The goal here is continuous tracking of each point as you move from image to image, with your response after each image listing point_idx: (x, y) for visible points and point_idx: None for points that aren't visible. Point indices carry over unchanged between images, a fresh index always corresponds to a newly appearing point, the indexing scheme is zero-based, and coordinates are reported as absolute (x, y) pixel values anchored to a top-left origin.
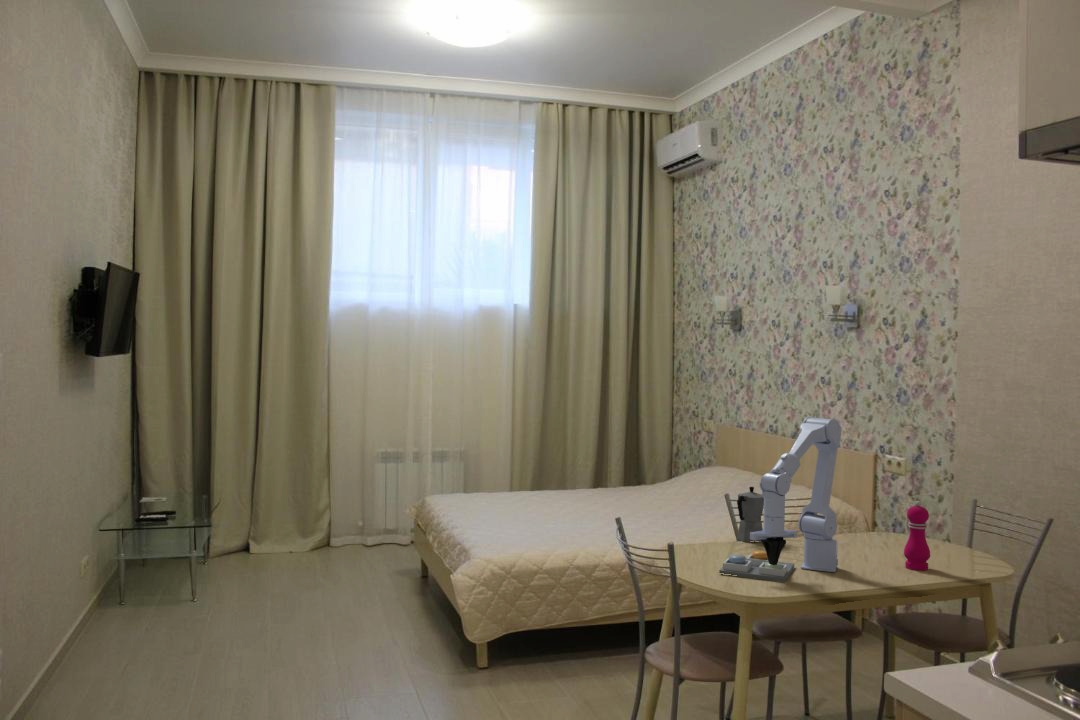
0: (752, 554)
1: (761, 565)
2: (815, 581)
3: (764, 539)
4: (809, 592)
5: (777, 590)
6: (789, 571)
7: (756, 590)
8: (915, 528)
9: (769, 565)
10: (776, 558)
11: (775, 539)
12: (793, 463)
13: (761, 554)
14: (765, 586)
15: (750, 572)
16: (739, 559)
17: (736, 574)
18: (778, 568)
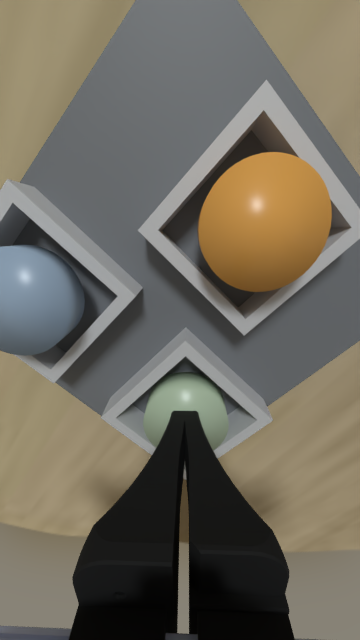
0: (203, 204)
1: (131, 398)
2: (293, 472)
3: (80, 609)
4: None
5: (96, 508)
6: (275, 398)
7: (31, 493)
8: None
9: (149, 440)
10: (186, 478)
11: (196, 631)
12: None
13: (229, 284)
14: (81, 471)
15: (82, 375)
16: (11, 350)
17: None
18: None
